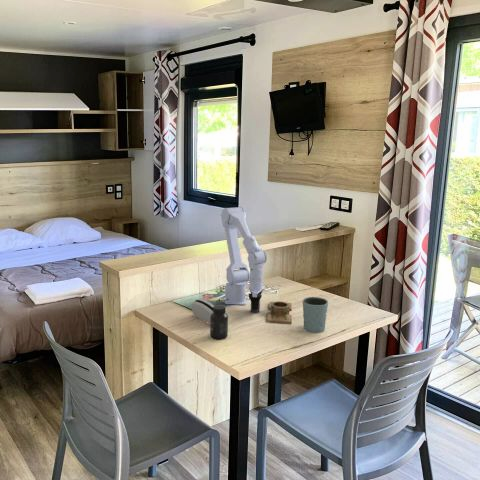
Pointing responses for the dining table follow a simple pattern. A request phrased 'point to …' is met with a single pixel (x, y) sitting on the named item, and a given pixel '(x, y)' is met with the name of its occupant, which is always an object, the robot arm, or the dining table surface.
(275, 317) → the hinge leaves
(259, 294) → the pin
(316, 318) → the teal cup
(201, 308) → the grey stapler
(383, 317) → the dining table surface
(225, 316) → the supplement bottle
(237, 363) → the dining table surface
